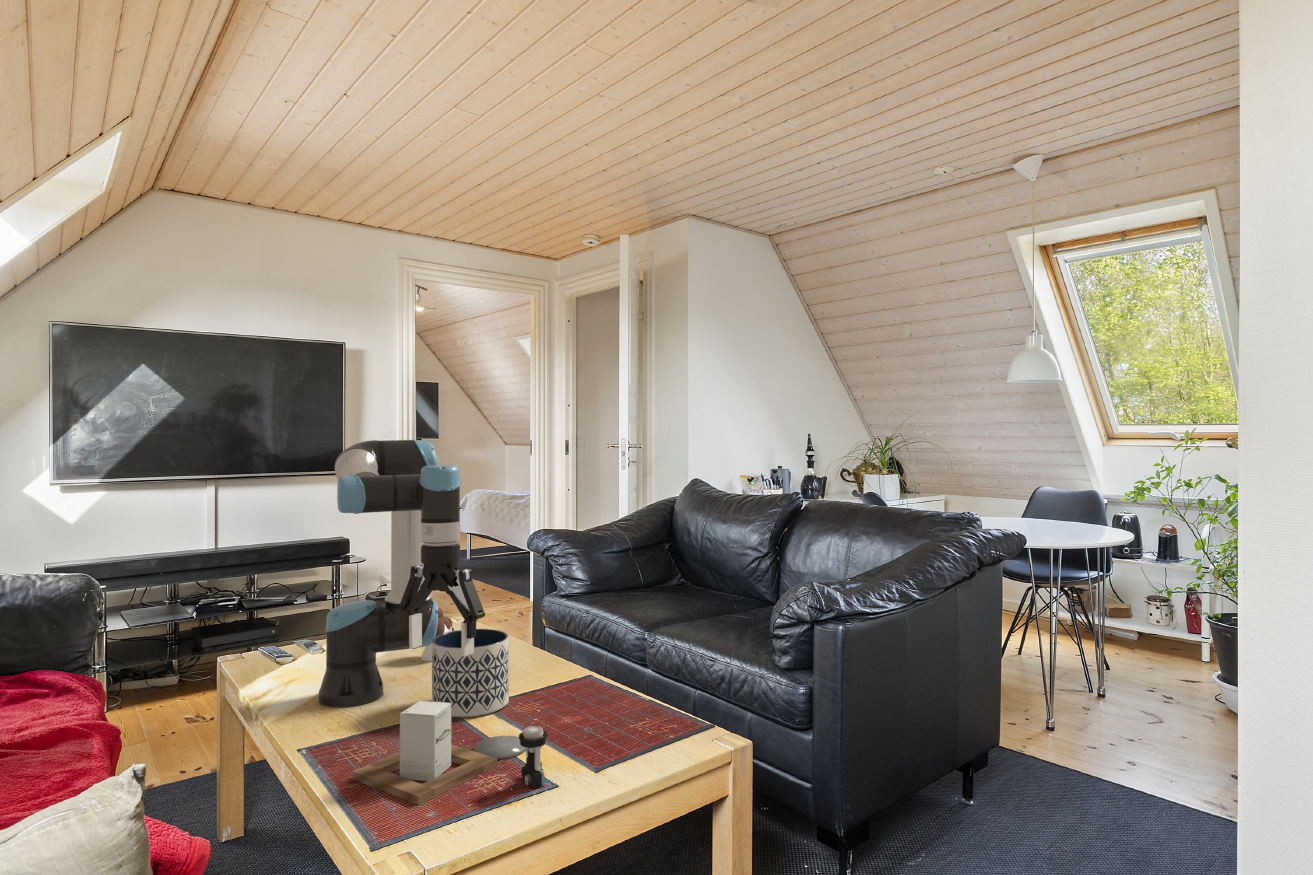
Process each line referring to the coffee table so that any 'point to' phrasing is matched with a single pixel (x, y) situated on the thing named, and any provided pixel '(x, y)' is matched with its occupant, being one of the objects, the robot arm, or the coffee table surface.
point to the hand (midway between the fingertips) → (441, 650)
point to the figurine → (442, 628)
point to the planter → (471, 673)
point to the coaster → (500, 747)
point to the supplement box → (425, 740)
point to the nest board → (420, 793)
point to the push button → (533, 755)
